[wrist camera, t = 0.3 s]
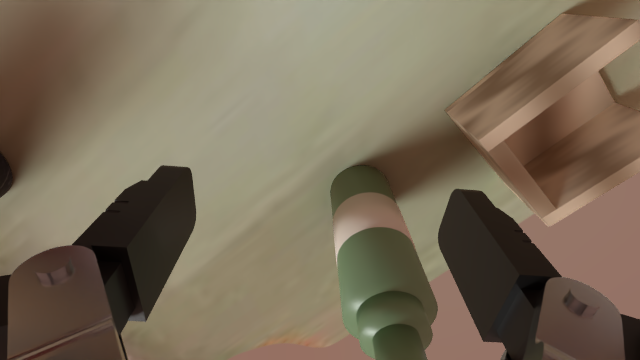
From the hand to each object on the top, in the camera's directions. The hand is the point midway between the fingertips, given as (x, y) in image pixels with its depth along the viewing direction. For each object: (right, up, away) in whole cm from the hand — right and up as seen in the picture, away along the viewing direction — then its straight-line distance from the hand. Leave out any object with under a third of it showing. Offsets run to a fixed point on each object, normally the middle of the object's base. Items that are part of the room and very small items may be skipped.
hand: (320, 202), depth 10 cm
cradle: (+18, +7, +18) cm, 26 cm away
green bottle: (+4, 0, +21) cm, 22 cm away
